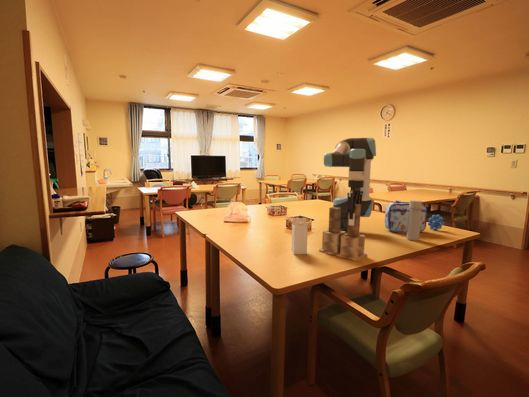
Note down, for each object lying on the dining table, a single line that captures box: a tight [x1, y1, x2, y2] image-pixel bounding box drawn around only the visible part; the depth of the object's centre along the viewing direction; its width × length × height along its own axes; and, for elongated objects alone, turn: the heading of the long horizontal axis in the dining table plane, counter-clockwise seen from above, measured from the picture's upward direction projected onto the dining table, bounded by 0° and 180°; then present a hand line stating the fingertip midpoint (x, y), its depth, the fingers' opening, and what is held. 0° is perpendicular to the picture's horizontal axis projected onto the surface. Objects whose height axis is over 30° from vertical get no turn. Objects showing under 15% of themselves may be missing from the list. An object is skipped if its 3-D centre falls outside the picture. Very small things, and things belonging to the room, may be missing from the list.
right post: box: [346, 204, 361, 238], centre depth 148 cm, size 5×5×23 cm
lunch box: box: [384, 199, 428, 234], centre depth 199 cm, size 28×10×22 cm, turn 88°
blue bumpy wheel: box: [427, 214, 445, 231], centre depth 204 cm, size 12×7×12 cm, turn 23°
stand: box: [318, 229, 368, 262], centre depth 153 cm, size 22×12×11 cm, turn 47°
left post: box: [328, 206, 341, 234], centre depth 156 cm, size 5×5×23 cm
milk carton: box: [291, 217, 309, 255], centre depth 154 cm, size 7×7×19 cm
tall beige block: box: [404, 199, 423, 242], centre depth 179 cm, size 9×8×25 cm
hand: (353, 224), depth 148 cm, fingers closed on right post, 4 cm apart
